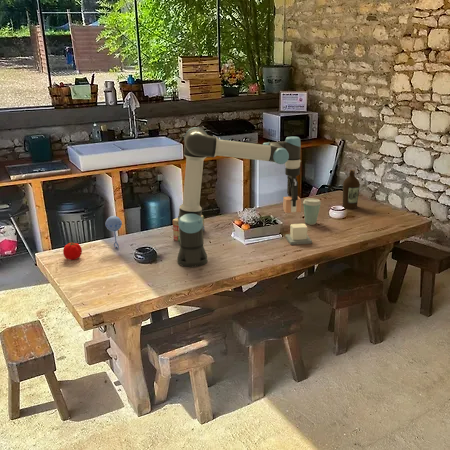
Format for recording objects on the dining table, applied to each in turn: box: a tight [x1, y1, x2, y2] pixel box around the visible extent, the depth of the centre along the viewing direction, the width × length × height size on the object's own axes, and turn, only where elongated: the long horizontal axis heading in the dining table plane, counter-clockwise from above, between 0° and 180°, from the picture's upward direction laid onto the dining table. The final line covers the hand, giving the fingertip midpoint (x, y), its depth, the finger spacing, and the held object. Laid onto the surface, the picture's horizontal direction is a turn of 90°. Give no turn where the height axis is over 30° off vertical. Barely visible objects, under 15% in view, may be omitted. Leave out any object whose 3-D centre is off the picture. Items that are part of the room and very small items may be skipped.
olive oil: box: [342, 169, 361, 210], centre depth 324 cm, size 11×11×25 cm
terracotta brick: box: [282, 195, 302, 214], centre depth 261 cm, size 8×6×7 cm
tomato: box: [62, 242, 83, 261], centre depth 255 cm, size 9×10×8 cm
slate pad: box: [284, 233, 313, 246], centre depth 274 cm, size 12×12×2 cm
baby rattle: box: [104, 215, 123, 249], centre depth 266 cm, size 9×9×18 cm
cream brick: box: [289, 223, 308, 240], centre depth 273 cm, size 8×6×7 cm
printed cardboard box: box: [172, 214, 205, 242], centre depth 283 cm, size 21×6×12 cm, turn 147°
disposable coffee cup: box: [302, 197, 322, 225], centre depth 298 cm, size 11×11×15 cm
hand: (292, 209), depth 262 cm, fingers closed on terracotta brick, 6 cm apart
